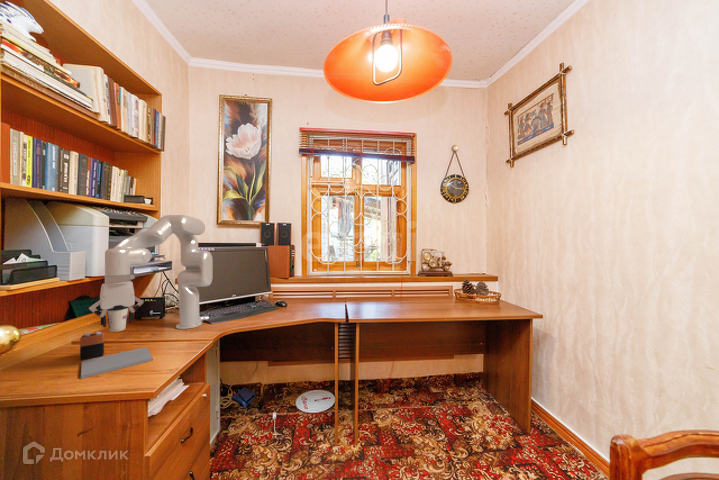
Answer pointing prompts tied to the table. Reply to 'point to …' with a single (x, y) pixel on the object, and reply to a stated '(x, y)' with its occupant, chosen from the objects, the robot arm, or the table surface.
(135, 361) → the desk mat
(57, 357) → the table surface
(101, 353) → the battery
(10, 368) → the table surface
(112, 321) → the coffee cup
